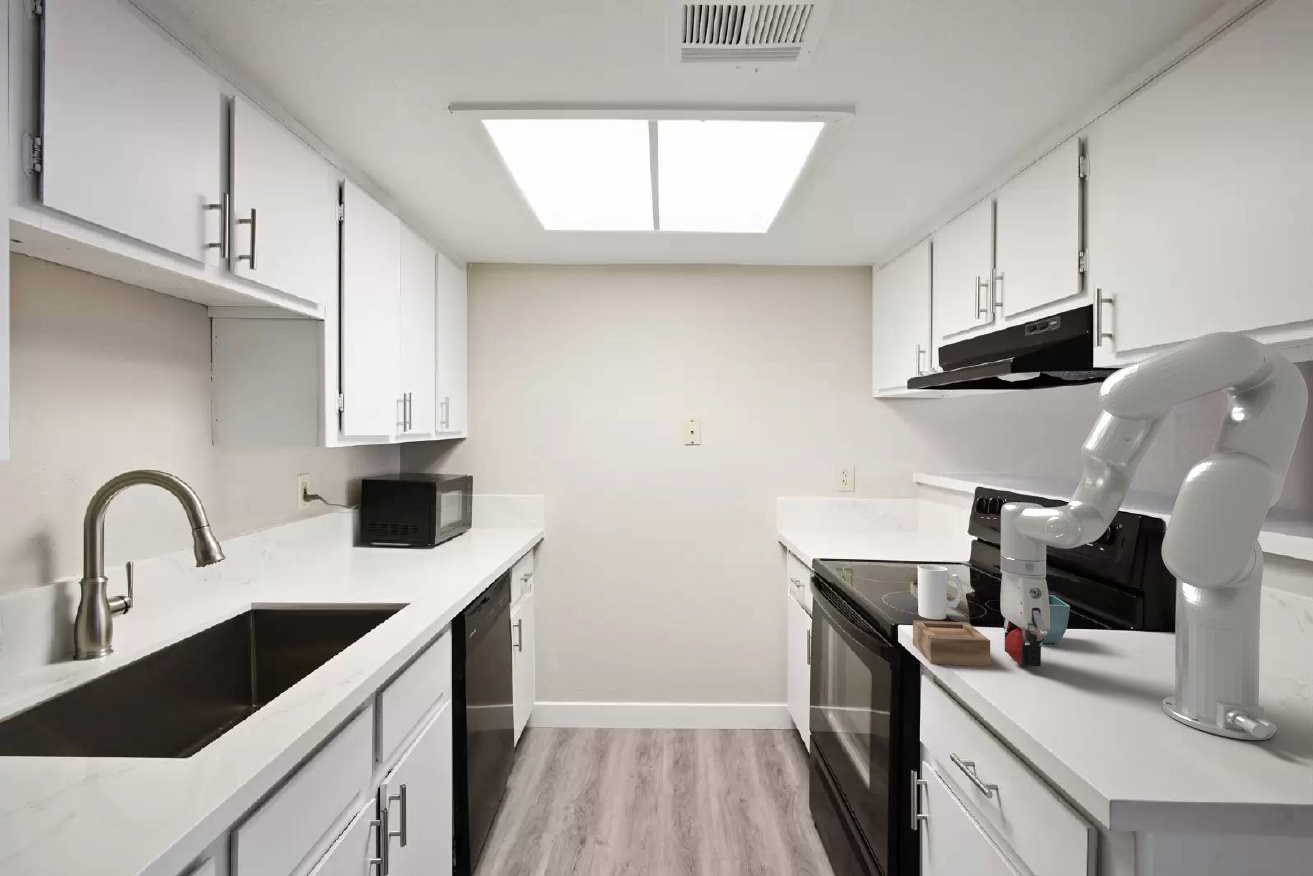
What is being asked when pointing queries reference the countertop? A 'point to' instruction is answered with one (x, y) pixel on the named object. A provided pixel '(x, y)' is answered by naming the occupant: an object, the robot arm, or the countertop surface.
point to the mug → (935, 591)
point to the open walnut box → (951, 643)
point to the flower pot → (1056, 620)
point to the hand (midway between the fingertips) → (1022, 658)
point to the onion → (1015, 644)
